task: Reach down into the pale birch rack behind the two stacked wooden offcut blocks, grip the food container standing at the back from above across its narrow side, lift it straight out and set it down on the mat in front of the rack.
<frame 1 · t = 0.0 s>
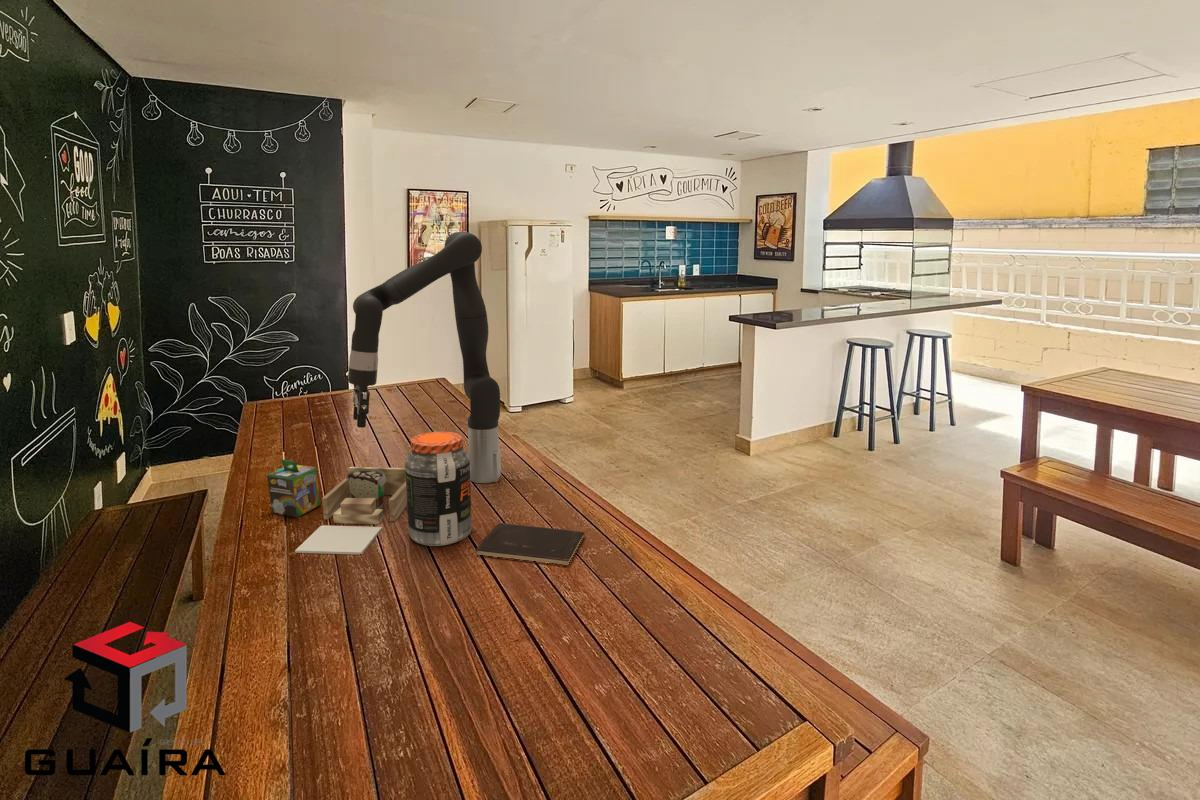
hand: (359, 423, 185), 22 cm above the table, tool pointing down, fingers open, 8 cm apart
supplement tub: (441, 535, 168), on the table
rack: (373, 505, 185), on the table
mat: (340, 540, 164), on the table
hardcover book: (531, 548, 163), on the table
offcut lower: (359, 521, 176), on the table, touching offcut upper
food container: (373, 506, 185), on the table
offcut upper: (359, 511, 175), point 3 cm above the table, touching offcut lower
chalk box: (296, 510, 182), on the table
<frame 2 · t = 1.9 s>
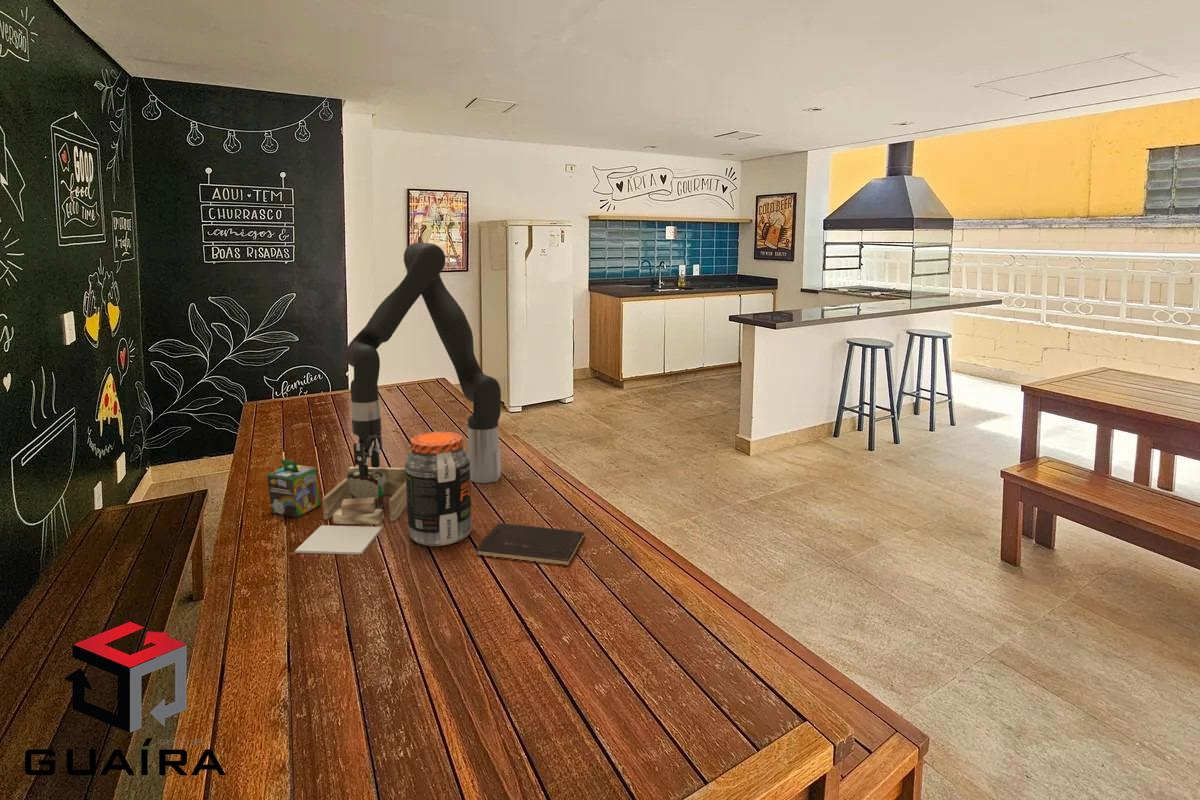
hand: (370, 472, 183), 10 cm above the table, tool pointing down, fingers open, 8 cm apart
offcut lower: (359, 522, 176), on the table
offcut upper: (359, 511, 175), point 3 cm above the table
everything else where it was.
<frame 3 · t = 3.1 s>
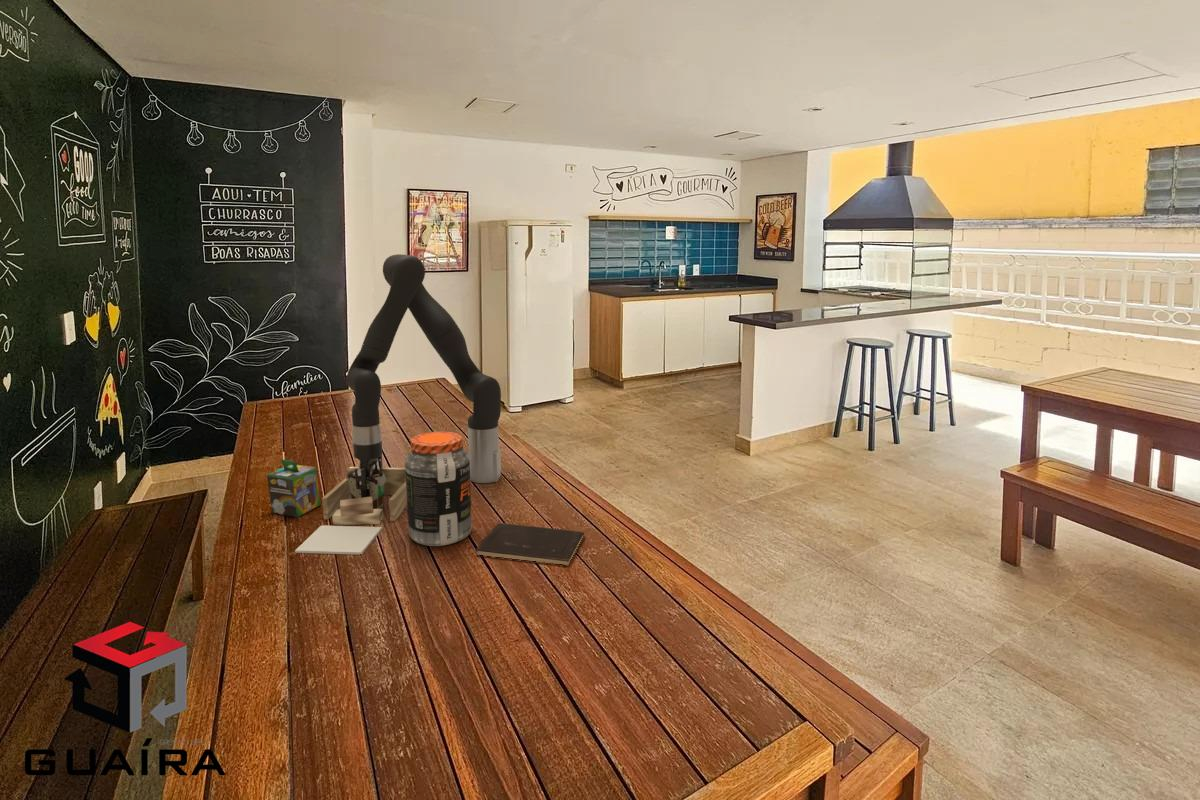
hand: (371, 496, 184), 3 cm above the table, tool pointing down, fingers closed on food container, 6 cm apart
food container: (372, 506, 185), on the table, touching gripper
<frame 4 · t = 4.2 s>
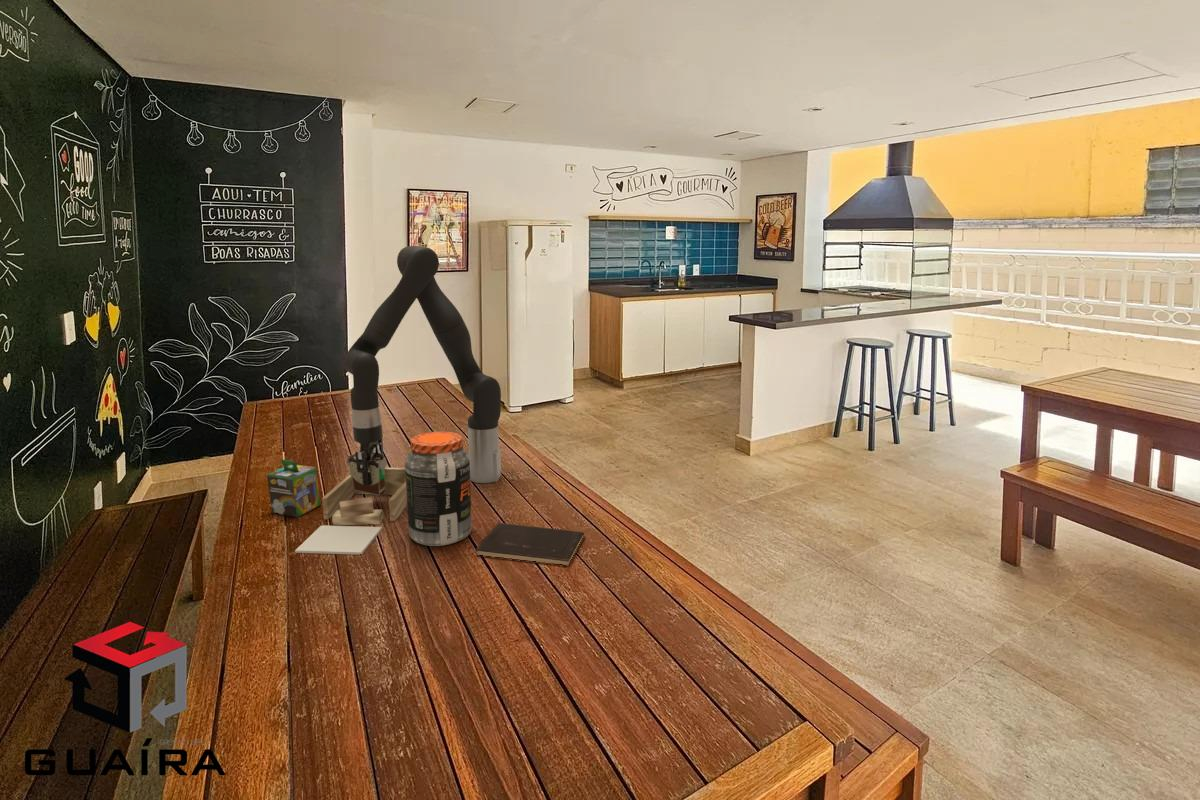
hand: (372, 479, 184), 8 cm above the table, tool pointing down, fingers closed on food container, 6 cm apart
offcut lower: (358, 523, 175), on the table, touching offcut upper
food container: (374, 489, 185), point 4 cm above the table, touching gripper
offcut upper: (357, 512, 175), point 2 cm above the table, touching offcut lower
everything else where it was.
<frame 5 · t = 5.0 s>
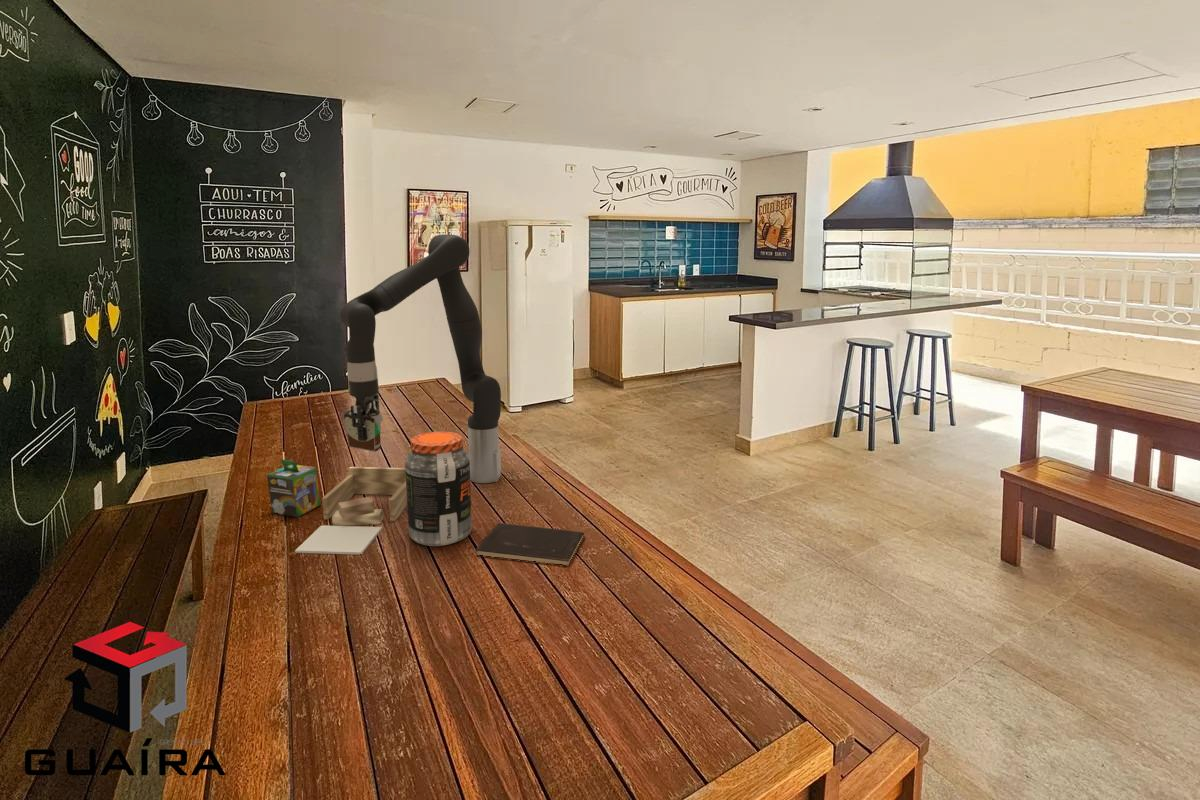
hand: (368, 436, 180), 20 cm above the table, tool pointing down, fingers closed on food container, 7 cm apart
offcut lower: (358, 523, 175), on the table
food container: (370, 446, 182), point 17 cm above the table, touching gripper
offcut upper: (356, 512, 174), point 3 cm above the table
everything else where it was.
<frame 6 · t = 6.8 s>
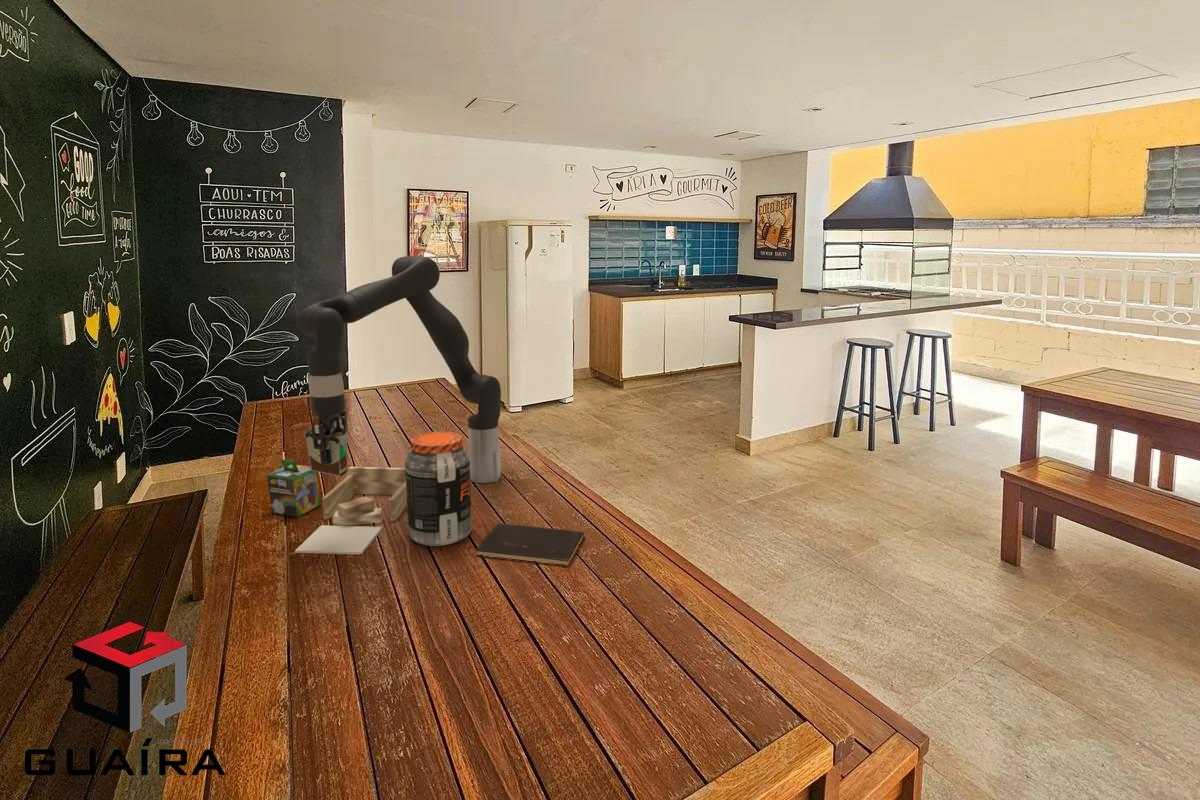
hand: (333, 458, 159), 22 cm above the table, tool pointing down, fingers closed on food container, 7 cm apart
offcut lower: (358, 522, 175), on the table, touching offcut upper
food container: (335, 470, 160), point 18 cm above the table, touching gripper
offcut upper: (356, 513, 174), point 3 cm above the table, touching offcut lower
everything else where it was.
when the fingers open (4 cm above the table, at t = 10.0 s): food container stays where it is, resting on mat.
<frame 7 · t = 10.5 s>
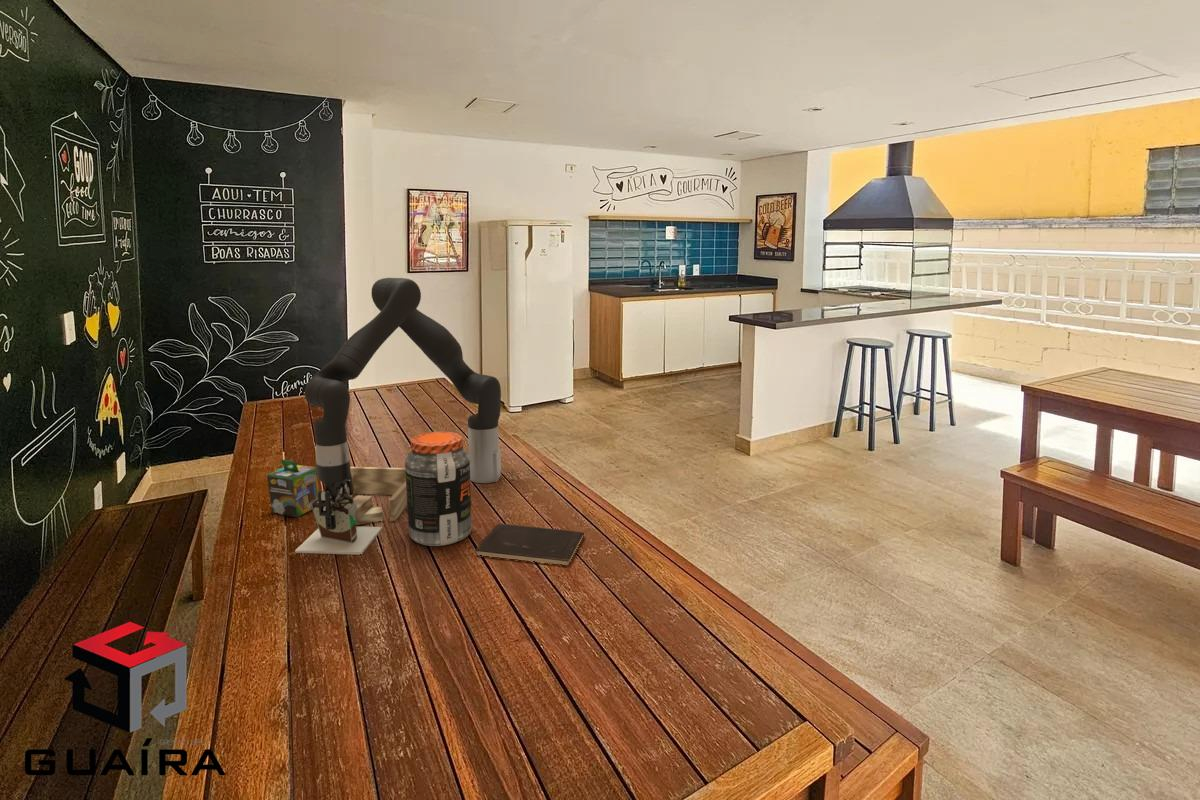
hand: (338, 521, 163), 5 cm above the table, tool pointing down, fingers open, 8 cm apart
food container: (345, 534, 166), point 1 cm above the table, touching mat
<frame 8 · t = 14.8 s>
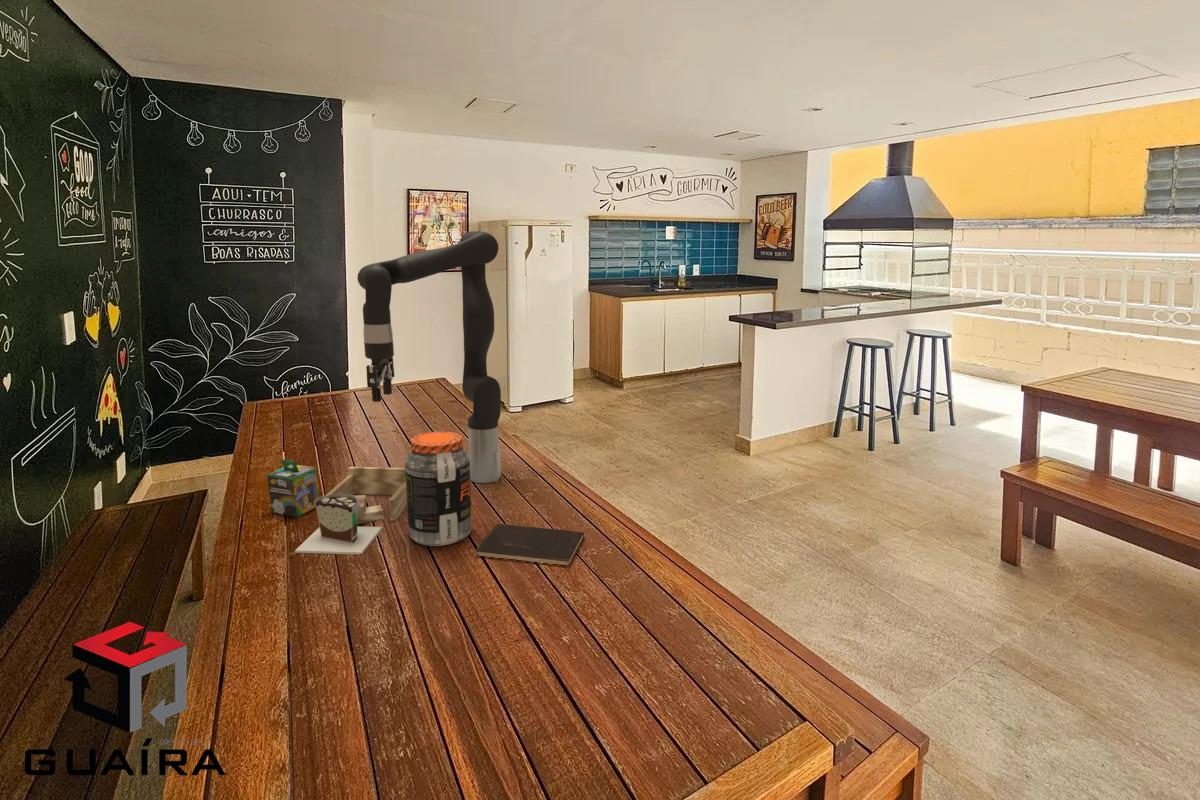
hand: (382, 397, 183), 30 cm above the table, tool pointing down, fingers open, 8 cm apart
at the end: food container inside the target area on the mat (2.0 cm from its centre), point 0.4 cm above the mat's base; food container tilted 0°; the gripper is holding nothing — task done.
